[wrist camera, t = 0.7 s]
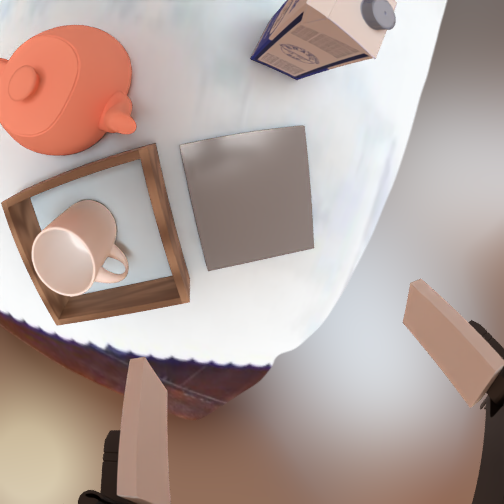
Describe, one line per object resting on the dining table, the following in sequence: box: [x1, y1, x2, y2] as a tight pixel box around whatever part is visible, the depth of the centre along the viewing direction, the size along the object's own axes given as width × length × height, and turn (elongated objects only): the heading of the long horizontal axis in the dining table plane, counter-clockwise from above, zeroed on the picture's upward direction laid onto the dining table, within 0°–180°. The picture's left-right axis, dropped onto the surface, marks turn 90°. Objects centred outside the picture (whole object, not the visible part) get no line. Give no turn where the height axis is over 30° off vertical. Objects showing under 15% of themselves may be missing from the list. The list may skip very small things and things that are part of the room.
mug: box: [32, 200, 129, 296], centre depth 31 cm, size 9×12×11 cm
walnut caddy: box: [1, 143, 190, 325], centre depth 33 cm, size 20×22×6 cm
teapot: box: [0, 25, 136, 155], centre depth 21 cm, size 25×17×13 cm
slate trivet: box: [180, 126, 314, 271], centre depth 37 cm, size 18×16×1 cm
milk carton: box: [250, 0, 397, 80], centre depth 20 cm, size 7×7×20 cm
